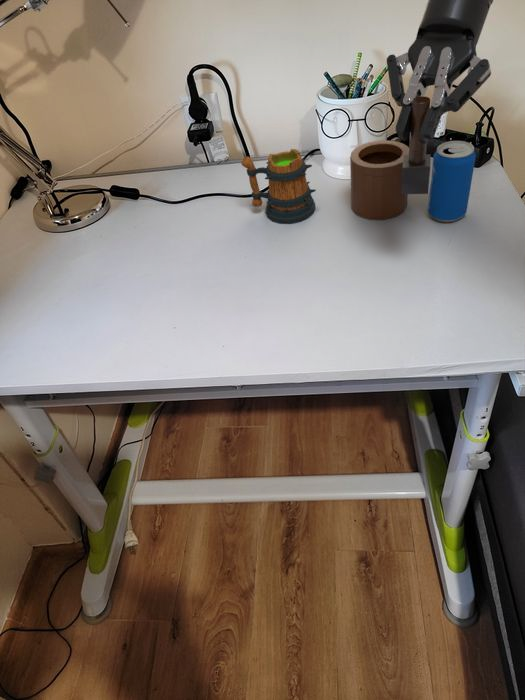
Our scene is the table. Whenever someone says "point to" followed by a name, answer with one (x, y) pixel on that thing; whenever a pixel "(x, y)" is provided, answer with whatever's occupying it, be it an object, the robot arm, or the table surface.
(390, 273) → the table surface
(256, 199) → the mug
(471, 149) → the beverage can
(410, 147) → the cylinder on square base
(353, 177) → the brown pencil cup
